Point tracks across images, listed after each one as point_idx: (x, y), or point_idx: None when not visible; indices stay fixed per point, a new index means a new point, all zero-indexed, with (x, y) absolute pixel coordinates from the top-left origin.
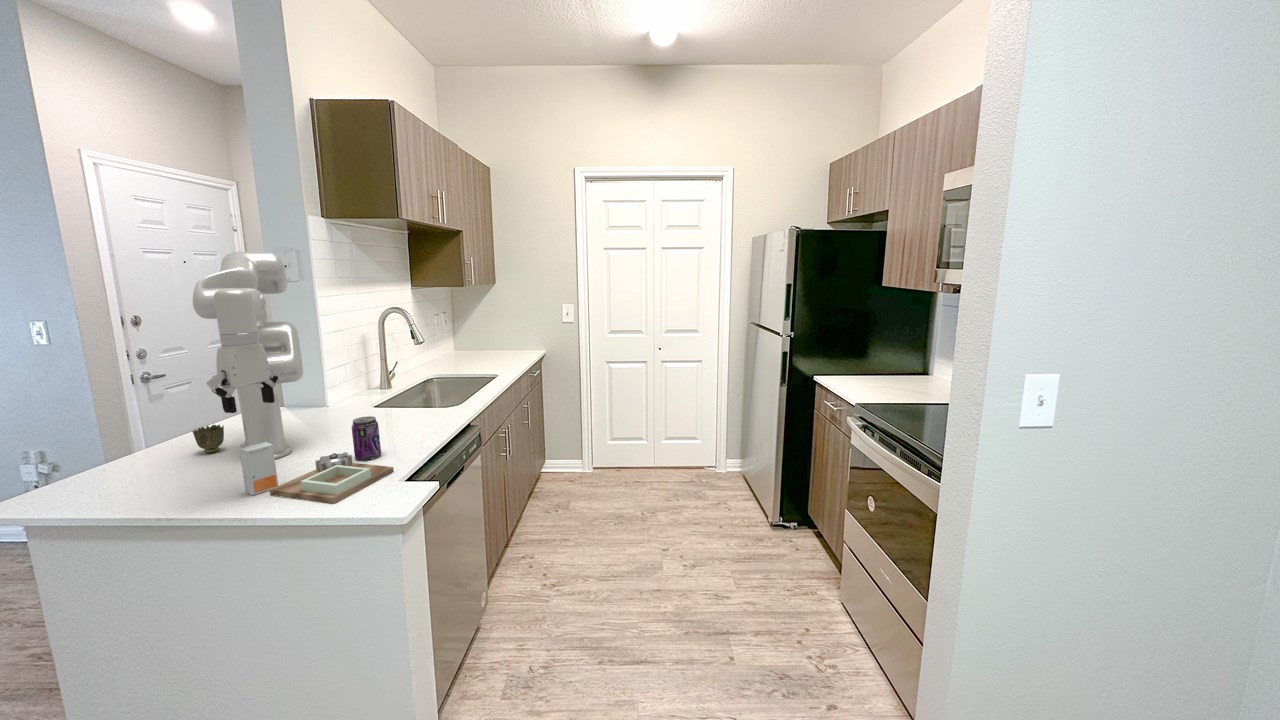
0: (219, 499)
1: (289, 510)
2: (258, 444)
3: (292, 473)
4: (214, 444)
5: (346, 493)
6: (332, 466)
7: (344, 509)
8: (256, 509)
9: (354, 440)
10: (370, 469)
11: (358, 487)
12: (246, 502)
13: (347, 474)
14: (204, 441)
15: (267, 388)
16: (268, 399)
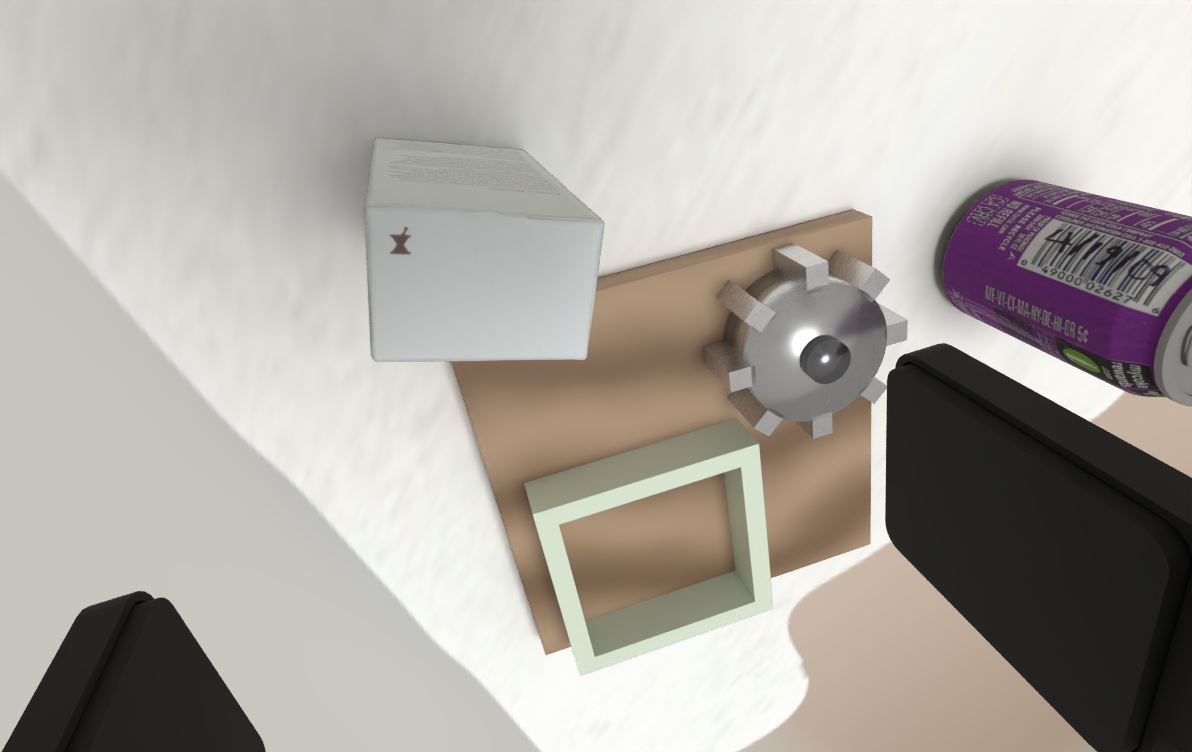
0: (224, 95)
1: (407, 564)
2: (523, 253)
3: (687, 78)
4: None
5: None
6: (747, 420)
7: (529, 697)
8: (319, 440)
9: (1036, 283)
10: (822, 494)
11: None
12: (320, 305)
13: (730, 498)
14: None
15: (1135, 718)
16: (925, 520)
